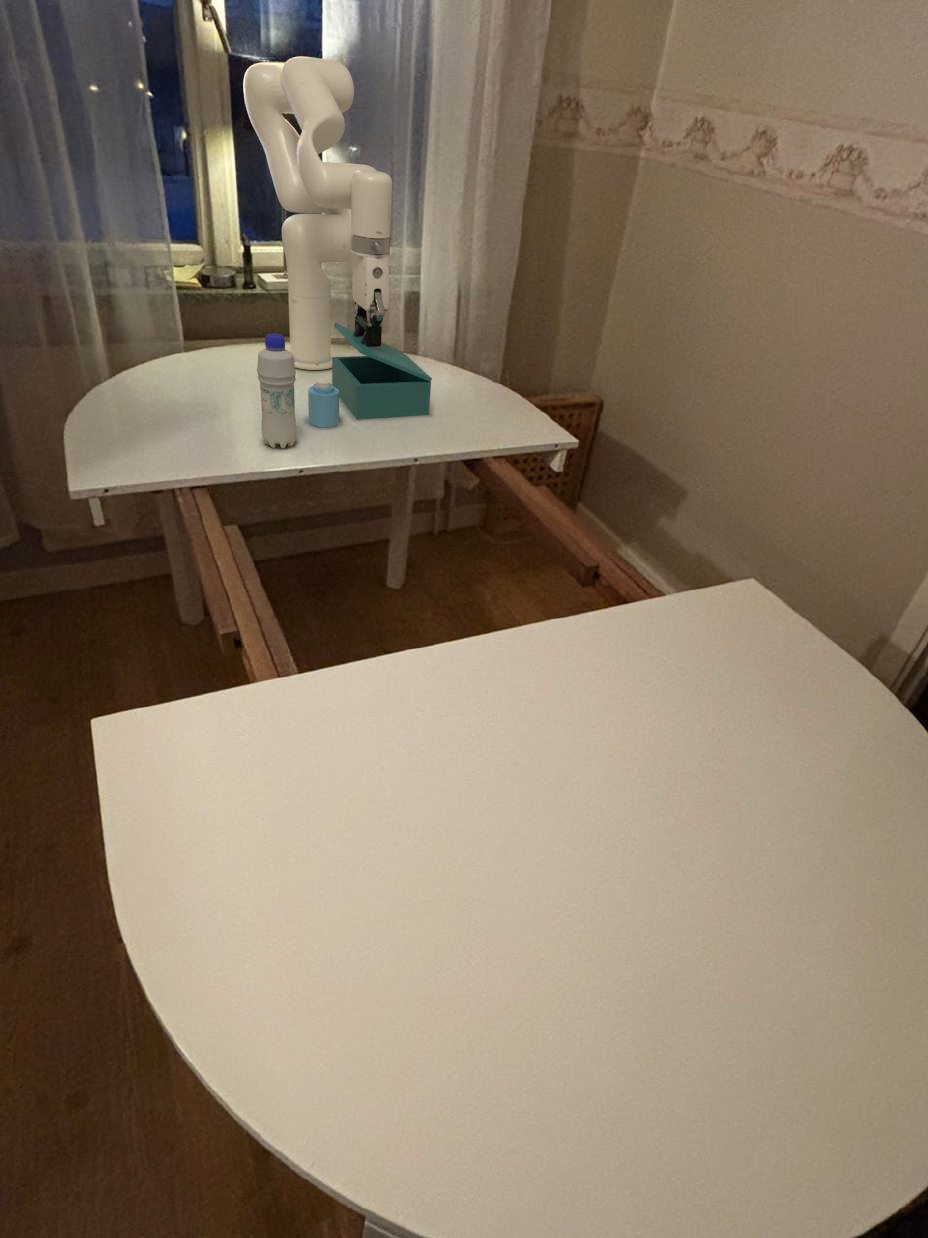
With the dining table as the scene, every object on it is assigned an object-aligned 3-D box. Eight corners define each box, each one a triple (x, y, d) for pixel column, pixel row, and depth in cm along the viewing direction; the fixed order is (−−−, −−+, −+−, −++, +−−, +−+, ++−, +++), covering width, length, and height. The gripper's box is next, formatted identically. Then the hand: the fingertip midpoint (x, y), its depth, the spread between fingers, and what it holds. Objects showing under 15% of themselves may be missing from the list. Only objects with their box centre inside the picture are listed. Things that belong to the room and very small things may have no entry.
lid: (360, 352, 144) (370, 327, 142) (333, 325, 157) (342, 302, 155) (430, 382, 154) (441, 358, 152) (400, 354, 167) (409, 332, 165)
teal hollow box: (357, 419, 152) (357, 385, 148) (332, 388, 165) (332, 356, 161) (428, 414, 158) (431, 382, 154) (399, 385, 171) (401, 354, 167)
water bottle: (305, 416, 150) (304, 376, 145) (334, 415, 152) (334, 375, 148) (313, 428, 146) (312, 387, 141) (342, 426, 148) (343, 385, 143)
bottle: (257, 437, 140) (250, 328, 128) (292, 435, 142) (289, 327, 130) (266, 452, 135) (259, 340, 123) (302, 449, 138) (299, 339, 126)
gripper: (404, 255, 137) (399, 353, 148) (373, 236, 150) (371, 328, 160) (366, 254, 134) (363, 354, 145) (338, 235, 147) (337, 329, 157)
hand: (367, 340), depth 152 cm, fingers closed on lid, 6 cm apart
